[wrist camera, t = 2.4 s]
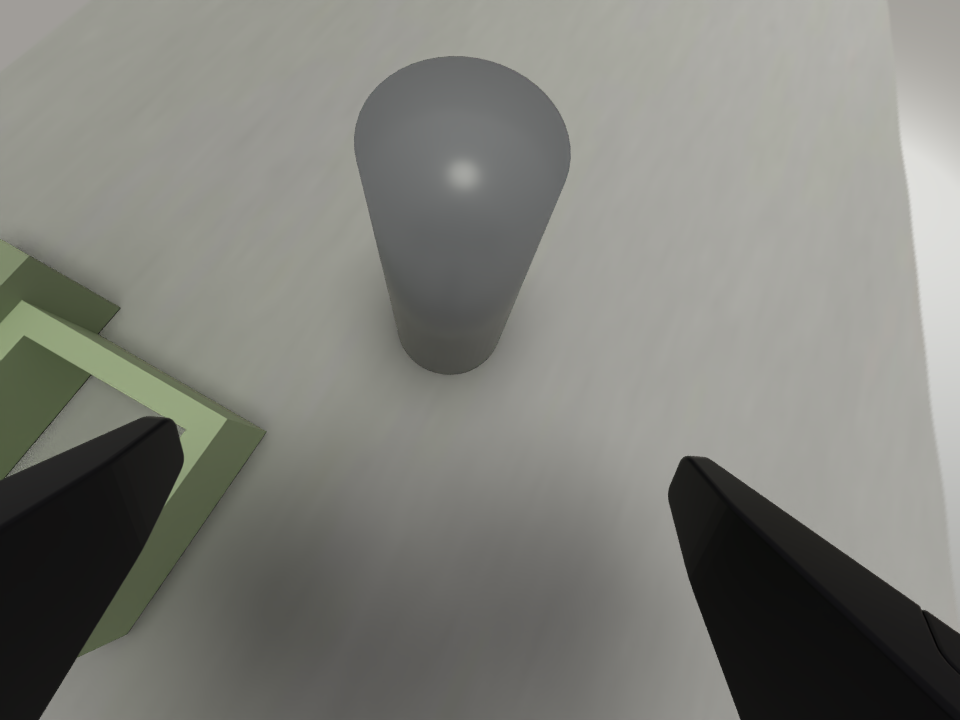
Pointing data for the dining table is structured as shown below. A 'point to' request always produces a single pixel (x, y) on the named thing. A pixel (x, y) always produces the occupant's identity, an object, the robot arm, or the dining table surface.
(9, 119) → the dining table surface
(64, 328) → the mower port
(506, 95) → the grey rounded post
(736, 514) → the robot arm
